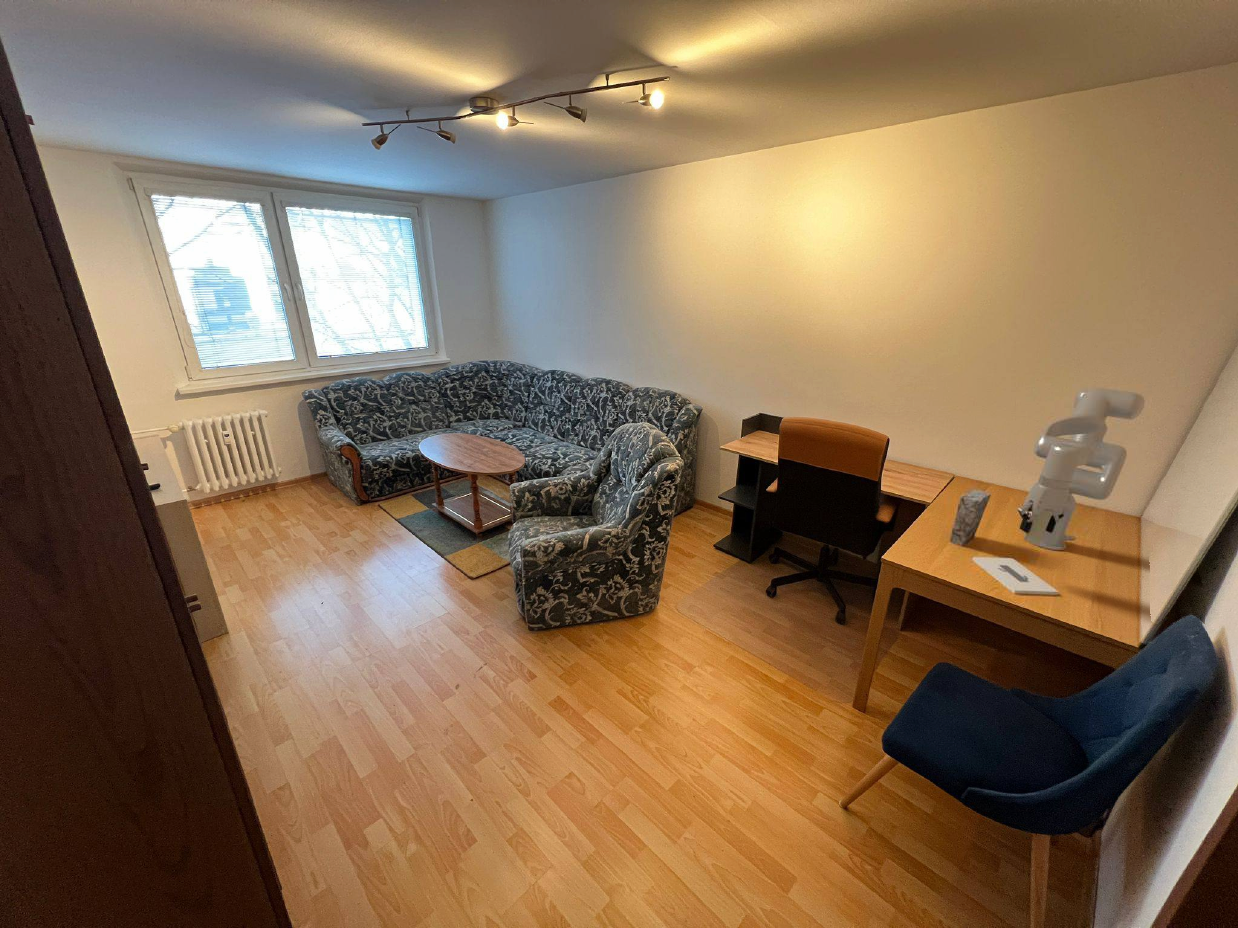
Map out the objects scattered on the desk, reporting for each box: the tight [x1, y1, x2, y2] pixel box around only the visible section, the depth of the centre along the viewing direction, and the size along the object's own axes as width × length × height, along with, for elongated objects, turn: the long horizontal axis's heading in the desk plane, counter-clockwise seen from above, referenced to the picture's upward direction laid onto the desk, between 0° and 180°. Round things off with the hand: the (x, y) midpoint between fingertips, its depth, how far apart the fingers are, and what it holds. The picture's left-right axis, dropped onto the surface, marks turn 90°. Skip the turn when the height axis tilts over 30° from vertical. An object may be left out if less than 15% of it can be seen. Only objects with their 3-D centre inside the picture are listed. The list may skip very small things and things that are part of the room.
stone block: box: [949, 488, 991, 547], centre depth 183 cm, size 13×7×20 cm, turn 132°
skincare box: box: [1023, 510, 1053, 544], centre depth 157 cm, size 6×4×12 cm
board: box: [972, 556, 1059, 596], centre depth 163 cm, size 14×20×1 cm
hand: (1035, 530), depth 158 cm, fingers closed on skincare box, 7 cm apart
